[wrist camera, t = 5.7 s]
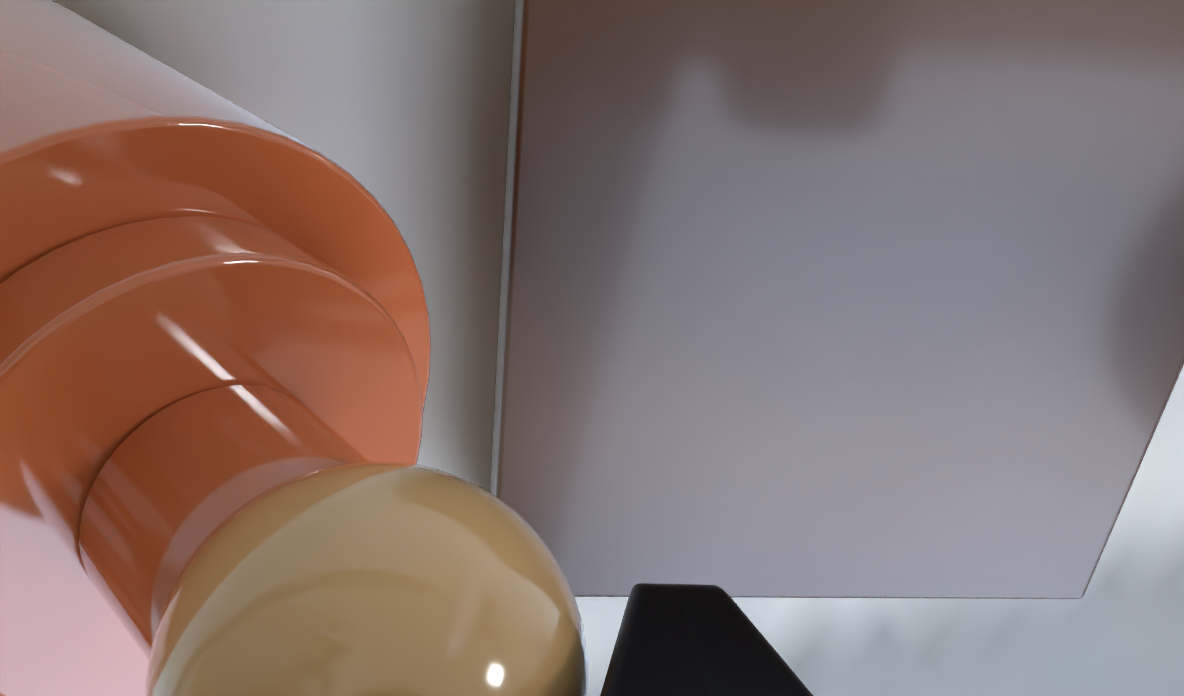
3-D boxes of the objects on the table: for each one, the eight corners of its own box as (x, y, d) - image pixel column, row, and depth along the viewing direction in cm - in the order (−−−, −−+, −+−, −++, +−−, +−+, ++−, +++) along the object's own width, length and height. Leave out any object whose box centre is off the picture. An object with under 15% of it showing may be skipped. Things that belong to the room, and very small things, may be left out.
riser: (1030, 520, 20) (1083, 601, 18) (489, 512, 19) (489, 598, 17) (1305, -202, 14) (1425, -186, 12) (529, -280, 13) (537, -276, 11)
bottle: (80, 317, 18) (-545, 663, 11) (1, -78, 14) (-931, 70, 8) (760, 520, 14) (461, 1206, 7) (844, 64, 11) (467, 532, 4)
